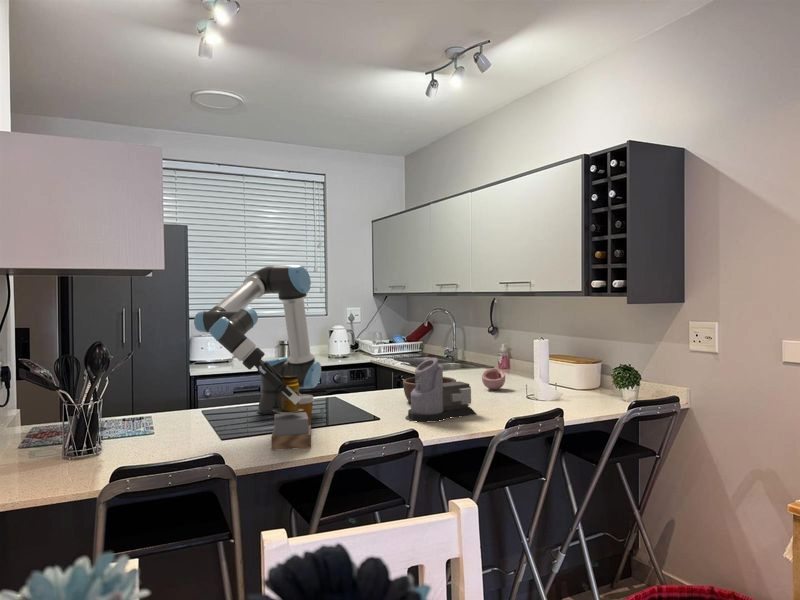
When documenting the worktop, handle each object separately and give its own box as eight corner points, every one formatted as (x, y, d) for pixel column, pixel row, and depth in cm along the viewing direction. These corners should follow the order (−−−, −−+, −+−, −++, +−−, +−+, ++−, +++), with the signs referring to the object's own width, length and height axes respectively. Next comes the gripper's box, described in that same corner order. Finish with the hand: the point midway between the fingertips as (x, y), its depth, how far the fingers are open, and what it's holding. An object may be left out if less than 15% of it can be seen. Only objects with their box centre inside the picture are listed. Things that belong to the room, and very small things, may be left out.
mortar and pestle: (481, 391, 281) (481, 369, 281) (482, 387, 293) (481, 366, 292) (505, 392, 279) (505, 369, 279) (505, 387, 291) (505, 366, 290)
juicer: (417, 424, 214) (416, 362, 214) (398, 416, 229) (397, 358, 228) (480, 415, 229) (479, 356, 228) (458, 408, 243) (457, 353, 242)
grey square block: (275, 436, 184) (275, 421, 184) (274, 428, 194) (274, 414, 194) (308, 433, 186) (308, 418, 186) (306, 425, 197) (305, 412, 197)
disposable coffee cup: (305, 423, 220) (304, 393, 220) (319, 427, 213) (318, 396, 213) (284, 427, 213) (284, 396, 213) (298, 431, 207) (298, 399, 206)
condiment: (304, 410, 191) (303, 375, 190) (283, 414, 185) (282, 378, 185) (292, 407, 196) (292, 373, 196) (271, 411, 190) (271, 376, 190)
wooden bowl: (422, 394, 276) (422, 374, 275) (466, 400, 261) (466, 378, 261) (392, 403, 255) (392, 381, 255) (438, 409, 241) (438, 386, 240)
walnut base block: (271, 451, 183) (271, 436, 183) (274, 441, 196) (273, 427, 196) (311, 449, 185) (310, 434, 185) (311, 439, 198) (310, 425, 198)
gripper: (244, 359, 197) (292, 402, 200) (237, 366, 179) (289, 413, 181) (259, 343, 198) (306, 387, 201) (253, 349, 179) (305, 397, 182)
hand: (298, 399), depth 191 cm, fingers closed on condiment, 6 cm apart
